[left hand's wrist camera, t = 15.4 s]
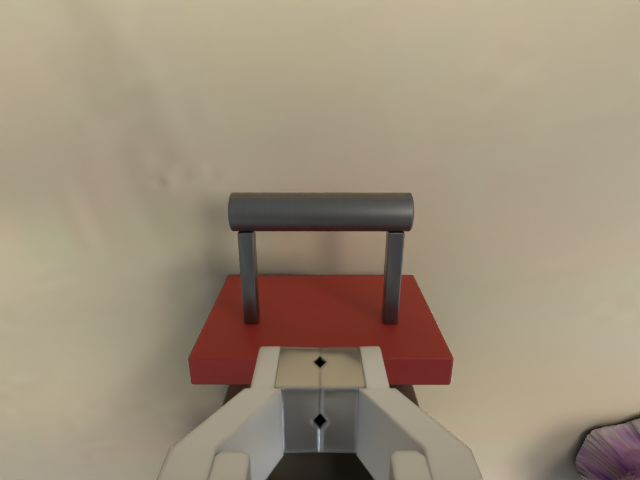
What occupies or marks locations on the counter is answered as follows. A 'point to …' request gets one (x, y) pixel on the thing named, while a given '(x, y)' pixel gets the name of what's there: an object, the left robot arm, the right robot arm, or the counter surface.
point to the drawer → (321, 309)
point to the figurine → (611, 453)
